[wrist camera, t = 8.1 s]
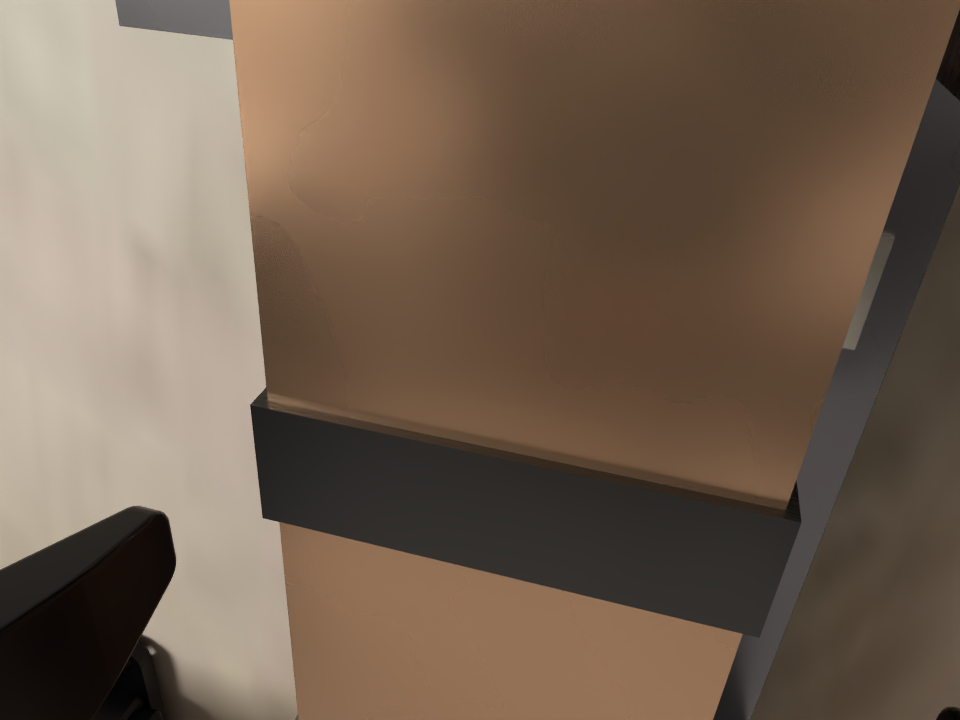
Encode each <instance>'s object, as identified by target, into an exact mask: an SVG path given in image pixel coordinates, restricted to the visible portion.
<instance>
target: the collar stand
mask: <svg viewBox="0 0 960 720" xmlns="http://www.w3.org/2000/svg"><path fill="white" fill-rule="evenodd" d="M116 6H117V12H118V18H119V24H120V26H126V27H134V28H142V29H150V30H158V31H166V32H174V33H183V34H191V35H199V36H207V37H215V38H223V39H232V40H233V34H232V23H231V13H230V2H229V0H116ZM959 184H960V10H959V13H958V16H957V19H956V21H955V24H954V27H953V30H952V33H951V36H950V39H949V42H948V45H947V47H946V50H945V53H944V56H943V59H942V62H941V65H940V68H939V70H938V73H937V76H936V79H935V82H934V85H933V88H932V91H931V93H930V96H929V99H928V102H927V105H926V108H925V111H924V114H923V117H922V119H921V122H920V125H919V128H918V131H917V134H916V137H915V140H914V142H913V145H912V148H911V151H910V154H909V157H908V160H907V163H906V165H905V168H904V171H903V174H902V177H901V180H900V183H899V186H898V188H897V191H896V194H895V197H894V200H893V203H892V206H891V209H890V212H889V214H888V217H887V220H886V223H885V226H884V229H883V232H882V235H881V237H880V240H879V243H878V246H877V249H876V252H875V255H874V258H873V260H872V263H871V266H870V269H869V272H868V275H867V278H866V281H865V283H864V286H863V289H862V292H861V295H860V298H859V301H858V304H857V307H856V309H855V312H854V315H853V318H852V321H851V324H850V327H849V330H848V332H847V335H846V338H845V341H844V344H843V347H842V350H841V353H840V355H839V358H838V361H837V364H836V367H835V370H834V373H833V376H832V379H831V381H830V384H829V387H828V390H827V393H826V396H825V399H824V402H823V404H822V407H821V410H820V413H819V416H818V419H817V422H816V425H815V427H814V430H813V433H812V436H811V439H810V442H809V445H808V448H807V450H806V453H805V456H804V459H803V462H802V465H801V468H800V471H799V474H798V476H797V479H796V480H797V488H798V497H799V505H800V514H801V522H802V523H801V526H800V528H799V531H798V534H797V537H796V539H795V542H794V545H793V548H792V550H791V553H790V556H789V559H788V561H787V564H786V567H785V570H784V572H783V575H782V578H781V580H780V583H779V586H778V589H777V591H776V594H775V597H774V600H773V602H772V605H771V608H770V611H769V613H768V616H767V619H766V622H765V624H764V627H763V630H762V632H761V635H760V638H757V637H753V636H749V635H745V634H743V635H742V638H741V641H740V643H739V646H738V649H737V652H736V655H735V658H734V661H733V664H732V666H731V669H730V672H729V675H728V678H727V681H726V684H725V687H724V689H723V692H722V695H721V698H720V701H719V704H718V707H717V710H716V712H715V715H714V718H713V720H750V719H751V716H752V714H753V711H754V709H755V706H756V703H757V701H758V698H759V696H760V693H761V691H762V688H763V686H764V683H765V680H766V678H767V675H768V673H769V670H770V668H771V665H772V663H773V660H774V657H775V655H776V652H777V650H778V647H779V645H780V642H781V640H782V637H783V634H784V632H785V629H786V627H787V624H788V622H789V619H790V617H791V614H792V611H793V609H794V606H795V604H796V601H797V599H798V596H799V594H800V591H801V588H802V586H803V583H804V581H805V578H806V576H807V573H808V570H809V568H810V565H811V563H812V560H813V558H814V555H815V553H816V550H817V547H818V545H819V542H820V540H821V537H822V535H823V532H824V530H825V527H826V524H827V522H828V519H829V517H830V514H831V512H832V509H833V507H834V504H835V501H836V499H837V496H838V494H839V491H840V489H841V486H842V484H843V481H844V478H845V476H846V473H847V471H848V468H849V466H850V463H851V461H852V458H853V455H854V453H855V450H856V448H857V445H858V443H859V440H860V438H861V435H862V432H863V430H864V427H865V425H866V422H867V420H868V417H869V414H870V412H871V409H872V407H873V404H874V402H875V399H876V397H877V394H878V391H879V389H880V386H881V384H882V381H883V379H884V376H885V374H886V371H887V368H888V366H889V363H890V361H891V358H892V356H893V353H894V351H895V348H896V345H897V343H898V340H899V338H900V335H901V333H902V330H903V328H904V325H905V322H906V320H907V317H908V315H909V312H910V310H911V307H912V305H913V302H914V299H915V297H916V294H917V292H918V289H919V287H920V284H921V282H922V279H923V276H924V274H925V271H926V269H927V266H928V264H929V261H930V259H931V256H932V253H933V251H934V248H935V246H936V243H937V241H938V238H939V235H940V233H941V230H942V228H943V225H944V223H945V220H946V218H947V215H948V212H949V210H950V207H951V205H952V202H953V200H954V197H955V195H956V192H957V189H958V187H959ZM295 720H299V719H298V715H297V717H296V719H295Z"/></svg>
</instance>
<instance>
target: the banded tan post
mask: <svg viewBox="0 0 960 720" xmlns="http://www.w3.org/2000/svg"><path fill="white" fill-rule="evenodd" d="M229 2H230V13H231V23H232V34H233V44H234V54H235V65H236V75H237V85H238V96H239V106H240V117H241V127H242V137H243V148H244V158H245V169H246V179H247V189H248V200H249V210H250V220H251V231H252V241H253V252H254V262H255V272H256V283H257V293H258V304H259V314H260V324H261V335H262V345H263V355H264V366H265V376H266V388H265V389H264V391H263V392H262V393H261V394H260V395H259V396H258V397H257V398H256V399H255V400H254V402H253V403H252V404H251V405H250V407H251V416H252V425H253V434H254V443H255V452H256V461H257V470H258V479H259V488H260V497H261V506H262V515H263V518H265V519H269V520H273V521H278V522H280V532H281V542H282V553H283V563H284V574H285V584H286V594H287V605H288V615H289V626H290V636H291V646H292V657H293V667H294V677H295V688H296V698H297V709H298V719H299V720H713V718H714V715H715V712H716V710H717V707H718V704H719V701H720V698H721V695H722V692H723V689H724V687H725V684H726V681H727V678H728V675H729V672H730V669H731V666H732V664H733V661H734V658H735V655H736V652H737V649H738V646H739V643H740V641H741V638H742V635H743V634H745V635H749V636H753V637H757V638H760V635H761V632H762V630H763V627H764V624H765V622H766V619H767V616H768V613H769V611H770V608H771V605H772V602H773V600H774V597H775V594H776V591H777V589H778V586H779V583H780V580H781V578H782V575H783V572H784V570H785V567H786V564H787V561H788V559H789V556H790V553H791V550H792V548H793V545H794V542H795V539H796V537H797V534H798V531H799V528H800V526H801V523H802V522H801V514H800V505H799V497H798V488H797V480H796V479H797V476H798V474H799V471H800V468H801V465H802V462H803V459H804V456H805V453H806V450H807V448H808V445H809V442H810V439H811V436H812V433H813V430H814V427H815V425H816V422H817V419H818V416H819V413H820V410H821V407H822V404H823V402H824V399H825V396H826V393H827V390H828V387H829V384H830V381H831V379H832V376H833V373H834V370H835V367H836V364H837V361H838V358H839V355H840V353H841V350H842V347H843V344H844V341H845V338H846V335H847V332H848V330H849V327H850V324H851V321H852V318H853V315H854V312H855V309H856V307H857V304H858V301H859V298H860V295H861V292H862V289H863V286H864V283H865V281H866V278H867V275H868V272H869V269H870V266H871V263H872V260H873V258H874V255H875V252H876V249H877V246H878V243H879V240H880V237H881V235H882V232H883V229H884V226H885V223H886V220H887V217H888V214H889V212H890V209H891V206H892V203H893V200H894V197H895V194H896V191H897V188H898V186H899V183H900V180H901V177H902V174H903V171H904V168H905V165H906V163H907V160H908V157H909V154H910V151H911V148H912V145H913V142H914V140H915V137H916V134H917V131H918V128H919V125H920V122H921V119H922V117H923V114H924V111H925V108H926V105H927V102H928V99H929V96H930V93H931V91H932V88H933V85H934V82H935V79H936V76H937V73H938V70H939V68H940V65H941V62H942V59H943V56H944V53H945V50H946V47H947V45H948V42H949V39H950V36H951V33H952V30H953V27H954V24H955V21H956V19H957V16H958V13H959V10H960V0H229Z"/></svg>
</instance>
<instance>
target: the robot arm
mask: <svg viewBox="0 0 960 720" xmlns="http://www.w3.org/2000/svg"><path fill="white" fill-rule="evenodd" d="M175 567H176V555H175V549H174V544H173V539H172V534H171V528H170V523H169V519H168V517H167V516H166V515H165V513H163V512H161V511H158V510H154V509H150V508H146V507H142V506H132V507H129V508H127V509H124V510H122V511H120V512H118V513H116V514H114V515H112V516H110V517H108V518H106V519H104V520H102V521H100V522H98V523H96V524H93V525H91V526H89V527H87V528H85V529H83V530H81V531H79V532H77V533H75V534H73V535H71V536H69V537H67V538H65V539H63V540H61V541H58V542H56V543H54V544H52V545H50V546H48V547H46V548H44V549H42V550H40V551H38V552H36V553H34V554H32V555H30V556H28V557H25V558H23V559H21V560H19V561H17V562H15V563H13V564H11V565H9V566H7V567H5V568H3V569H1V570H0V720H166V718H165V714H164V710H163V705H162V701H161V697H160V693H159V688H158V684H157V680H156V676H155V671H154V667H153V663H152V659H151V655H150V653H149V651H148V650H147V649H146V647H145V646H144V645H142V644H141V643H140V642H138V641H139V639H140V637H141V635H142V633H143V631H144V630H145V628H146V626H147V624H148V622H149V620H150V618H151V617H152V615H153V613H154V611H155V609H156V607H157V605H158V603H159V602H160V600H161V598H162V596H163V594H164V592H165V590H166V589H167V587H168V585H169V583H170V581H171V579H172V577H173V574H174V571H175ZM936 720H960V708H956V707H947V708H945V709H943V710H942V711H941V712H940V714H939V715H938V717H937V719H936Z"/></svg>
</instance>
